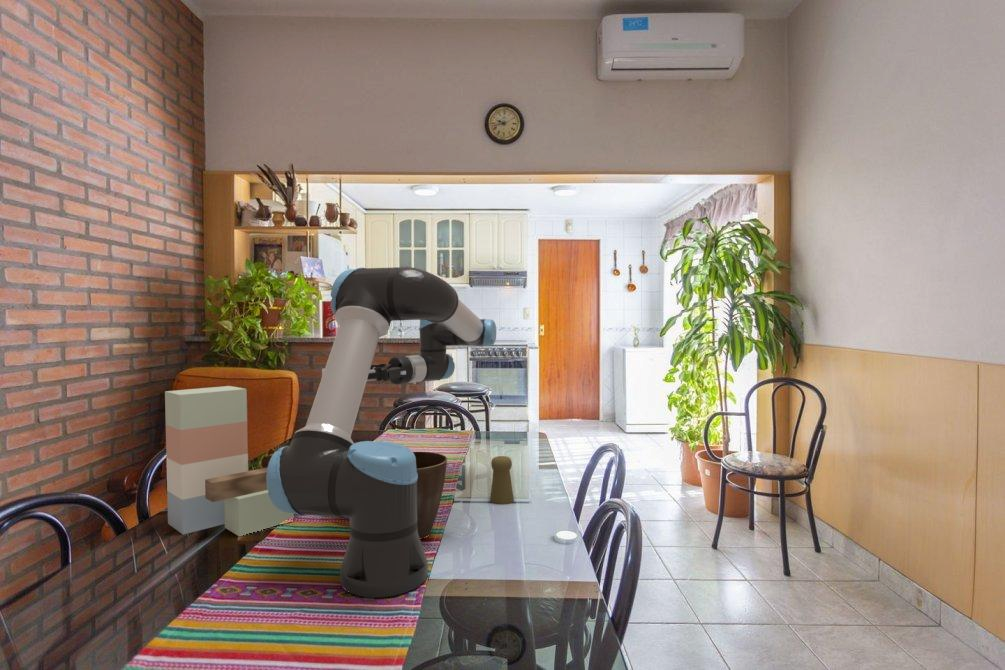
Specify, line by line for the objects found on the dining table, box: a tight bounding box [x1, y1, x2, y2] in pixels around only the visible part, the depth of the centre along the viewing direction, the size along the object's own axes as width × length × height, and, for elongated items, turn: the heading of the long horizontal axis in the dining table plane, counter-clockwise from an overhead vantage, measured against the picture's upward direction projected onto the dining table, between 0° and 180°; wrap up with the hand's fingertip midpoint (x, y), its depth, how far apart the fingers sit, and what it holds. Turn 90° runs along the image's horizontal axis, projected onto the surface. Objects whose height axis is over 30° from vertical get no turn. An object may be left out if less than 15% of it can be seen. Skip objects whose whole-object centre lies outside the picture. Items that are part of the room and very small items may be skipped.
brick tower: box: [164, 385, 249, 535], centre depth 129 cm, size 14×10×30 cm
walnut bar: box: [205, 466, 268, 502], centre depth 128 cm, size 26×4×4 cm, turn 137°
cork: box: [489, 455, 515, 505], centre depth 142 cm, size 6×6×11 cm
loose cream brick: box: [224, 490, 295, 537], centre depth 126 cm, size 12×8×8 cm, turn 137°
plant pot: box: [412, 451, 448, 539], centre depth 119 cm, size 15×15×16 cm
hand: (336, 375), depth 140 cm, fingers open, 13 cm apart
